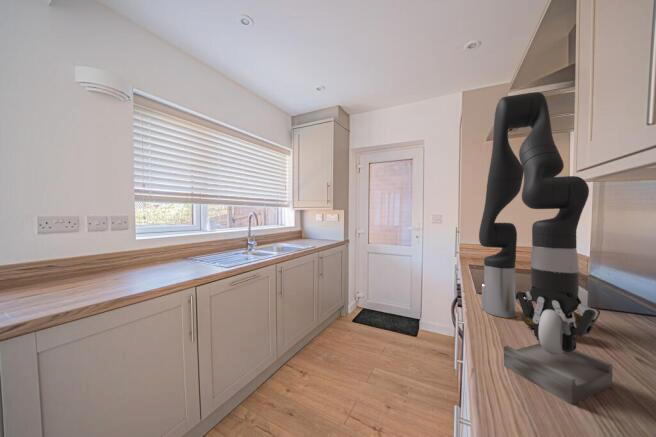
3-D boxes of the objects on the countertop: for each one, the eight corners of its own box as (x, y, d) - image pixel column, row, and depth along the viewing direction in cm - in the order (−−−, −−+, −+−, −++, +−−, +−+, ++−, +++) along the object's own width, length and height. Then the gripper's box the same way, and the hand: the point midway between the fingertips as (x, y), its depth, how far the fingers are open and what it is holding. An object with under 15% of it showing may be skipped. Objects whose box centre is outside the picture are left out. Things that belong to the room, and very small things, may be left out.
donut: (550, 342, 55) (550, 301, 55) (570, 350, 52) (571, 305, 52) (535, 356, 50) (535, 310, 50) (557, 365, 47) (558, 315, 47)
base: (503, 365, 54) (503, 346, 54) (541, 354, 59) (541, 336, 59) (571, 404, 43) (571, 380, 43) (612, 386, 47) (612, 364, 47)
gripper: (610, 273, 46) (611, 360, 45) (527, 261, 59) (528, 328, 59) (588, 276, 43) (589, 368, 43) (507, 262, 56) (507, 333, 56)
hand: (553, 344), depth 51 cm, fingers closed on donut, 4 cm apart
